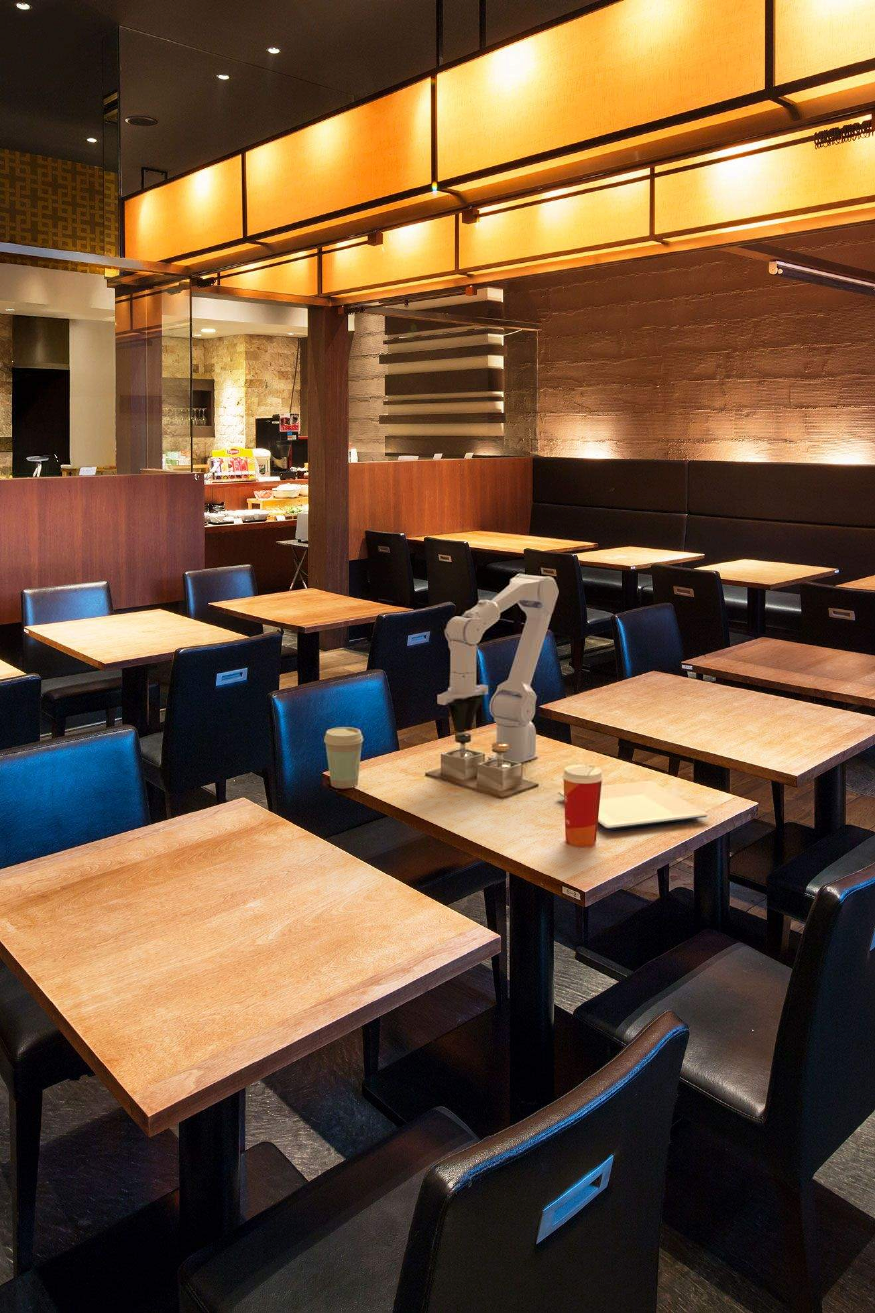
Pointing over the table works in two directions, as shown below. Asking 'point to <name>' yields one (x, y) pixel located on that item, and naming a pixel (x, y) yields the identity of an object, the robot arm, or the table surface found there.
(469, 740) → the black plunger
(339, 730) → the coffee cup
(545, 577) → the robot arm
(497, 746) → the copper plunger
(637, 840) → the table surface
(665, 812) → the plate
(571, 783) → the paper cup
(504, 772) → the press stand
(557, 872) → the table surface
